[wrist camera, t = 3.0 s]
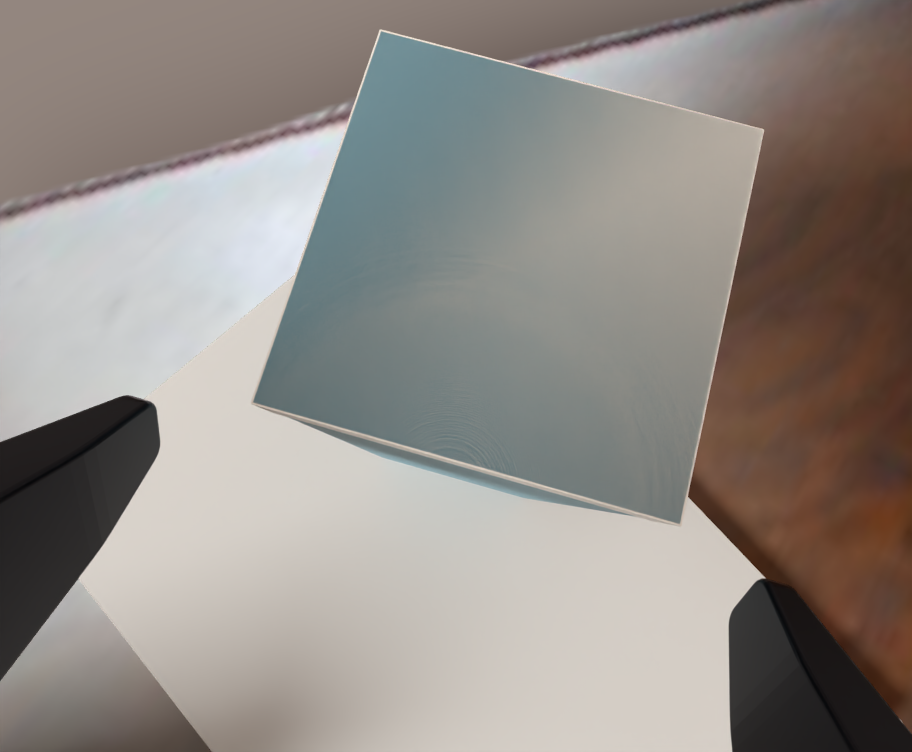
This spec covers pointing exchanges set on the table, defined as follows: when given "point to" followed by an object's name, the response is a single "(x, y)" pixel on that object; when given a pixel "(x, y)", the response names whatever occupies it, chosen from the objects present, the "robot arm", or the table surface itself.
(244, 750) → the cream rectangular board
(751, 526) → the table surface
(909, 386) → the table surface
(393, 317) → the teal block
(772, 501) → the table surface
